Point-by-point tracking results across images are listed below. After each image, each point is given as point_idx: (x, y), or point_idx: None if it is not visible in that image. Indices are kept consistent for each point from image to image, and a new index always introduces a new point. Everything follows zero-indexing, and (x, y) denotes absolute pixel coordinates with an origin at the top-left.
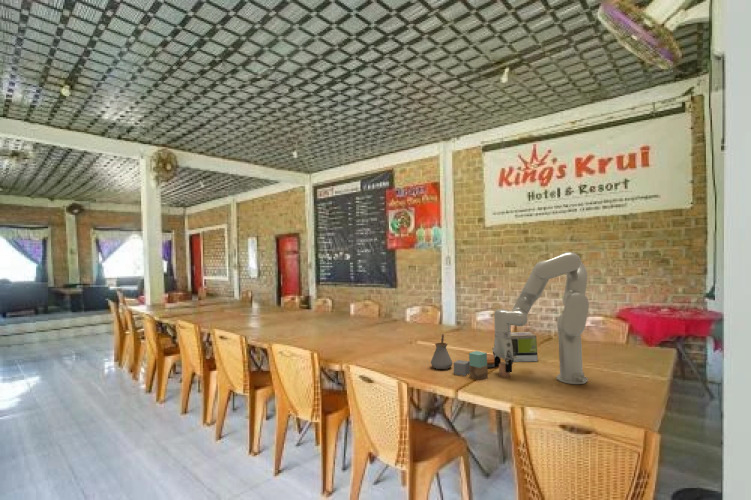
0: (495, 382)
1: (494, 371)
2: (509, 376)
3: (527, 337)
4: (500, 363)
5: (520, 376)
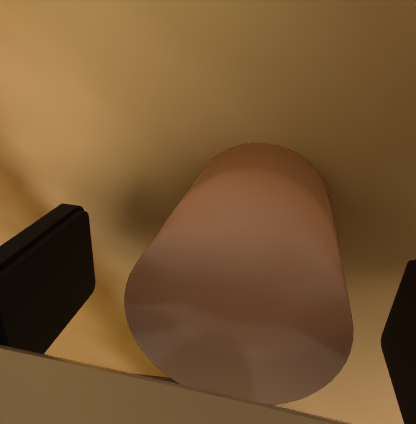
0: (387, 417)
1: (65, 199)
2: (325, 186)
3: None
4: (184, 361)
5: (410, 5)
